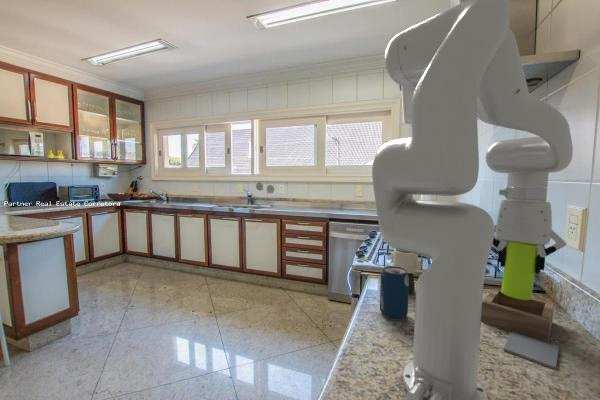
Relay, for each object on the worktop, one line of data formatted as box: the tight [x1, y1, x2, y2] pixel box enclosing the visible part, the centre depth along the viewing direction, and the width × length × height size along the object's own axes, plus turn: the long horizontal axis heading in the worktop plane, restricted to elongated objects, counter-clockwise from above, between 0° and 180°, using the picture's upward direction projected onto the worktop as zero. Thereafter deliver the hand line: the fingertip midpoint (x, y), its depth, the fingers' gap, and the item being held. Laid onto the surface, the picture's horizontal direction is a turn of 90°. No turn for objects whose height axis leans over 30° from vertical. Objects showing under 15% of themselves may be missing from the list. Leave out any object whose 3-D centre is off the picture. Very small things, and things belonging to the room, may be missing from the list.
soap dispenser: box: [500, 241, 538, 300], centre depth 67 cm, size 6×7×20 cm
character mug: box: [390, 248, 422, 293], centre depth 87 cm, size 11×7×13 cm, turn 31°
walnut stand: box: [481, 288, 555, 344], centre depth 69 cm, size 12×12×5 cm
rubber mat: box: [502, 331, 560, 370], centre depth 57 cm, size 9×8×1 cm
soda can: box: [379, 265, 410, 321], centre depth 71 cm, size 7×7×12 cm
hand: (519, 268), depth 67 cm, fingers closed on soap dispenser, 6 cm apart
